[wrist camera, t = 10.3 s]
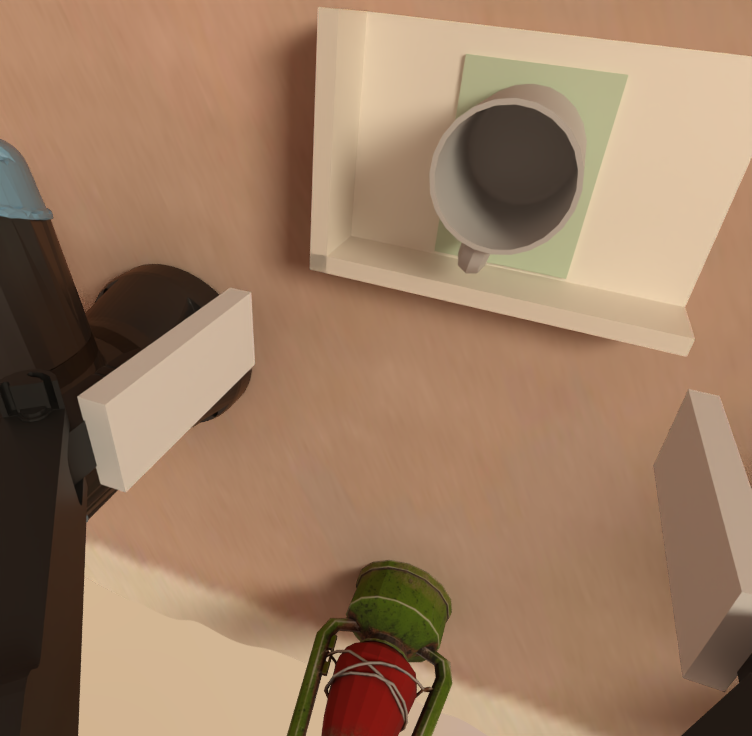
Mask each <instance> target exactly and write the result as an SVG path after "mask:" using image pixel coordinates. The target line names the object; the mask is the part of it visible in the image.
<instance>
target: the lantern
mask: <svg viewBox="0 0 752 736" xmlns="http://www.w3.org/2000/svg"><path fill="white" fill-rule="evenodd" d="M356 587H357V590H356V592H355V594H354V597H353V599H352V601H351V604H350V606H349V608H348V611H347V613H346V616H347V619H343V618H330V619H329V620H328V621H327V622H326V624H325V625H324V626H323V627H322V628H321V629H320V630H319V631H318V632H317V634H316V638H315V641H314V644H313V648H312V651H311V655H310V658H309V662H308V665H307V668H306V672H305V675H304V679H303V682H302V686H301V689H300V692H299V696H298V699H297V703H296V706H295V710H294V713H293V716H292V720H291V723H290V727H289V730H288V733H287V736H306V732H307V728H308V725H309V721H310V717H311V714H312V710H313V706H314V703H315V698H316V695H317V691H318V688H319V684H320V680H321V677H322V675H324V676H327V673H328V670H329V666H330V662H331V659H332V660H333V661H334V663H335V669H334V673H333V676H332V678H331V679H330V681H329V682H328V684H327V685H326V686H325V689H324V692H325V694H326V696H327V698H328V700H327V705H326V709H325V714H324V721H323V728H322V736H398V734H399V733H400V732H401V731H403V730H404V729H405V727H406V725H407V723H408V713H409V711H410V709H411V707H412V705H413V703H414V700H415V698H416V697H417V696H419V695H420V694H421V693H422V692H423V691H424V692H430V693H429V695H428V697H427V700H426V702H425V705H424V707H423V709H422V712H421V714H420V717H419V719H418V721H417V724H416V726H415V728H414V731H413V733H412V736H432V734H433V732H434V729H435V726H436V724H437V721H438V718H439V716H440V714H441V711H442V709H443V706H444V704H445V701H446V698H447V696H448V693H449V691H450V688H451V686H452V675H451V666H450V662H449V661H448V660H447V659H445V658H444V657H443V656H442V655H440V654H439V653H438V652H437V651H438V649H439V648H440V644H441V640H442V636H443V632H444V628H445V624H446V622H447V620H448V619H449V617H450V615H451V613H452V609H451V599H450V597H449V595H448V594H447V592H446V590H445V589H444V587H443V585H442V584H440V583H439V582H438V581H437V580H436V579H435V578H433V577H432V576H431V575H430V574H429V573H427V572H425V571H423V570H421V569H419V568H417V567H415V566H413V565H411V564H408V563H402V562H397V561H392V560H386V561H378V562H373V563H371V564H369V565H368V566H366V567H365V568H363V569H362V571H361V573H360V575H359V577H358V580H357V584H356ZM338 631H350V632H353V633H354V635H355V636H356V637H357V639H358V640H360V643H354V644H352V645H350V646H348V647H346V649H345V650H336V651H334V647H335V644H336V640H337V635H335V634H336V633H337V632H338ZM328 650H331V652H329V651H328ZM335 653H342V654H341V655H340V656H339V658H338V660H337V661H336V660H335V658H334V657H333V656H332V655H333V654H335ZM328 656H329V660H328V662H327V661H326V658H327V657H328ZM425 660H427V661H429V662H430V663H432V664H433V665H434V666H435V675H436V678H435V681H434V683H433V685H432V688H431V687H426V688H423V686H422V685H421V684H420V682H419V681H418V680H416V673H415V672H414V670H413V669H412V667H411V666H410V664H409V663H408V662H423V661H425ZM417 684H418V685H419V687H420V688H421V690H420V691H419V692H418V693H417ZM330 685H331V686H330ZM329 686H330V690H329V693H328V688H329Z"/></svg>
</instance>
